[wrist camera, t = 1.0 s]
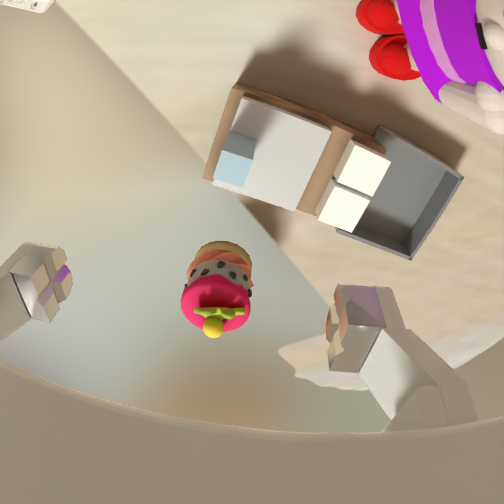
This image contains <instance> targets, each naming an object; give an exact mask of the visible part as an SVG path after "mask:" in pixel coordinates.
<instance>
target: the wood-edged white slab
mask: <svg viewBox="0 0 504 504" xmlns="http://www.w3.org/2000/svg"><path fill="white" fill-rule="evenodd" d="M243 96H245V97H248V98H251V99H254V100H257V101H260V102H263V103H266V104H269V105H272V106H275V107H277V108H280V109H283V110H286V111H288V112H291V113H294V114H296V115H299V116H301V117H304V118H306V119H309V120H311V121H314V122H316V123H319V124H321V125H324V126H326V127H328V128H329V129H330V130H331V134H330V137H329V139H328V141H327V143H326V145H325V147H324V150H323V152H322V154H321V156H320V158H319V160H318V163H317V165H316V167H315V169H314V171H313V173H312V175H311V177H310V180H309V182H308V184H307V186H306V188H305V190H304V192H303V194H302V197H301V199H300V201H299V203H298V205H297V207H296V209H298V210H300V211H303V212H306V213H309V214H312V215H314V216H316V213H315V209H316V207H317V205H318V204H319V202H320V200H321V198H322V196H323V194H324V192H325V190H326V188H327V186H328V184H329V182H330V179H331V178H333V179H335V176H334V174H333V173H334V171H335V169H336V167H337V165H338V163H339V161H340V159H341V157H342V155H343V153H344V151H345V149H346V147H347V145H348V143H349V141H350V139H352V140H354V141H356V142H358V143H361V144H363V145H365V146H367V147H369V148H371V149H373V150H375V151H377V152H379V153H381V154H383V155H385V153H386V151H387V150H386V149H385V148H384V147H383V146H382V145H381V144H380V143H379V142H378V141H377V140H376V139H375V138H374V137H372V136H370V135H368V134H366V133H364V132H362V131H360V130H358V129H355V128H353V127H351V126H349V125H347V124H344V123H342V122H340V121H338V120H335V119H333V118H331V117H328V116H326V115H324V114H321V113H319V112H317V111H314V110H312V109H309V108H307V107H304V106H302V105H299V104H296V103H294V102H291V101H289V100H286V99H283V98H280V97H278V96H275V95H272V94H269V93H266V92H263V91H261V90H258V89H255V88H252V87H249V86H245V85H242V84H239V83H236V84H235V85H234V86H233V87H232V88H231V91H230V94H229V97H228V100H227V103H226V106H225V109H224V112H223V114H222V117H221V120H220V123H219V126H218V130H217V133H216V136H215V139H214V142H213V145H212V148H211V151H210V154H209V158H208V161H207V164H206V168H205V171H204V174H203V178H204V179H207V180H210V181H214V179H213V176H214V173H215V170H216V166H217V163H218V160H219V157H220V154H221V151H222V149H223V146H224V144H225V142H226V139H227V137H228V135H229V132H230V130H231V127H232V124H233V121H234V118H235V115H236V113H237V110H238V107H239V104H240V101H241V99H242V97H243ZM335 180H336V179H335Z"/></svg>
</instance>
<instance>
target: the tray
mask: <svg viewBox="0 0 504 504" xmlns="http://www.w3.org/2000/svg"><path fill="white" fill-rule="evenodd" d="M373 137H374V138H375V139H376V140H377V141H378V142H379V143H380V144H381V145H382V146H383V147H384V148H385V149H386V150H387V151H386V153H385V156H386V157H387V158H388V159H389V160H390V161H391V163H390V165H389V167H388V169H387V171H386V173H385V175H384V177H383V178H382V180H381V182H380V184H379V186H378V187H377V189H376V191H375V193H374V195H373V197H372V196H370V195H367V196H368V198H369V200H370V202H369V204H368V205H367V207H366V209H365V211H364V212H363V214H362V216H361V218H360V219H359V221H358V223H357V225H356V226H355V228H354V230H353V231H352V233H351V232H348V231H346V230H343V229H340V228H338V227H335V228H336V231H337V233H339V234H342V235H344V236H347V237H350V238H352V239H355V240H358V241H361V242H363V243H366V244H369V245H371V246H374V247H377V248H379V249H382V250H385V251H387V252H390V253H392V254H395V255H398V256H400V257H403V258H405V259H408V260H412V258H413V257H414V256H415V254H416V253H417V251H418V250H419V248H420V247H421V245H422V244H423V242H424V241H425V240H426V238H427V237H428V235H429V234H430V232H431V230H432V229H433V227H434V226H435V224H436V223H437V221H438V220H439V218H440V217H441V215H442V213H443V212H444V210H445V209H446V207H447V205H448V204H449V202H450V200H451V199H452V197H453V195H454V194H455V192H456V190H457V189H458V187H459V185H460V184H461V182H462V180H463V178H464V177H463V176H462V175H461V174H460V173H459V172H457V171H456V170H455V169H454V168H453V167H452V166H450V165H449V164H447V163H446V162H444V161H442V160H441V159H439V158H438V157H436V156H434V155H433V154H431V153H429V152H428V151H426V150H424V149H423V148H421V147H419V146H417V145H416V144H414V143H412V142H410V141H408V140H407V139H405V138H403V137H401V136H399V135H398V134H396V133H394V132H392V131H390V130H388V129H386V128H384V127H382V126H380V125H379V126H378V128H377V130H376V132H375V134H374V136H373Z"/></svg>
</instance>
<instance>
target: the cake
mask: <svg viewBox="0 0 504 504" xmlns="http://www.w3.org/2000/svg"><path fill="white" fill-rule="evenodd" d="M251 265H252V262H251V260H250V257H249V255H248V254H247V253H246V251H245V250H244V249H243V248H241V247H240V246H238V245H237V244H234V243H231V242H228V241H215V242H210V243H208V244H206V245H204V246H202V247H201V248H200V250H199V251H198V252H197V254H196V257H195V260H194V261H193V262H192V263H191V265H190V267H189V269H188V271H187V280H188V284H185V289H184V291H183V294H182V298H181V308H182V311H183V313H184V315H185V317H186V318H187V319H188V320H189V321H190V322H191V323H192V324H194V325H195V326H197V327H199V328H201V329H203V331H204V332H205V334H206V335H207V336H209V337H212V338H216V337H219V336H220V335H222V333H223V332H227V331H231V330H235V329H237V328H239V327H240V326H242V325H243V324H244V323H245V322H246V321H247V319H248V317H249V314H250V300H249V297H251V296H252V291H251V289H250V288H251V287H253V286H254V285H253V283H252V281H251V280H250V279H251V267H252V266H251Z"/></svg>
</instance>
